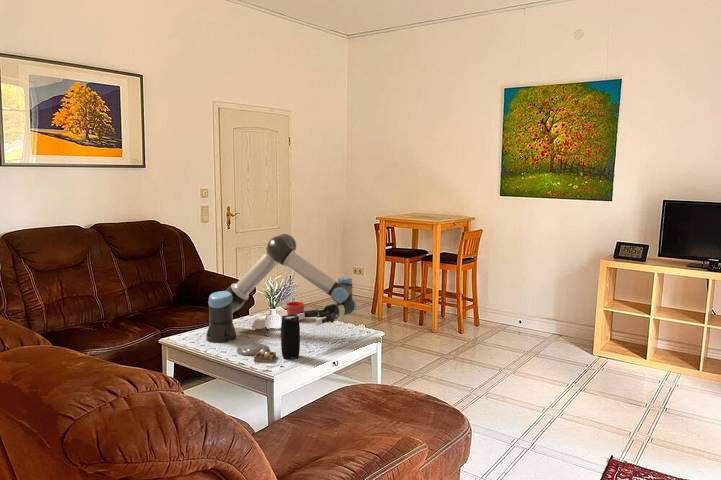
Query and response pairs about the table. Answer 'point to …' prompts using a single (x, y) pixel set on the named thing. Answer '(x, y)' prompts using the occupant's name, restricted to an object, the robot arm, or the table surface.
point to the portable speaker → (290, 336)
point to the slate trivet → (251, 349)
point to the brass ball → (267, 354)
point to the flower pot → (295, 308)
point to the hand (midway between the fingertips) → (305, 320)
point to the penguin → (259, 323)
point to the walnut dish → (264, 359)
